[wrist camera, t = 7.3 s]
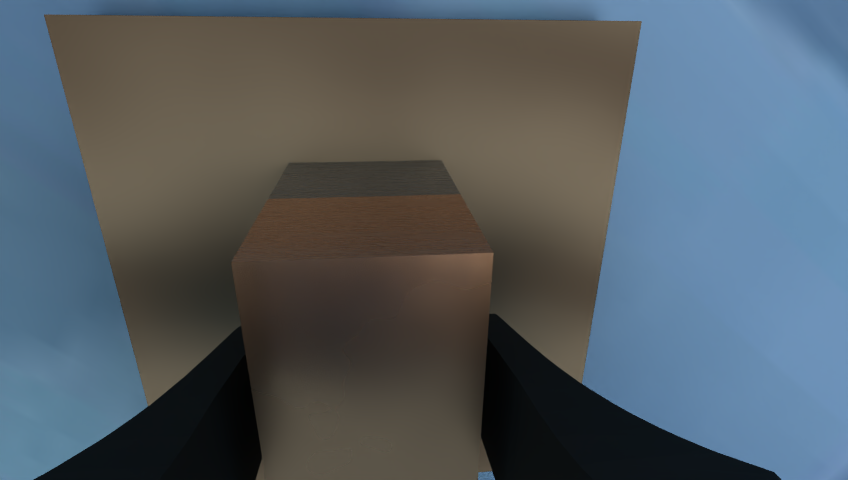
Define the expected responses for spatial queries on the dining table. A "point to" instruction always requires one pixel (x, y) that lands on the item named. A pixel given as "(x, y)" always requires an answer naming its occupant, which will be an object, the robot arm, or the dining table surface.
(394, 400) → the brown rectangular block
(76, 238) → the dining table surface
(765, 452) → the dining table surface
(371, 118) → the walnut stand
